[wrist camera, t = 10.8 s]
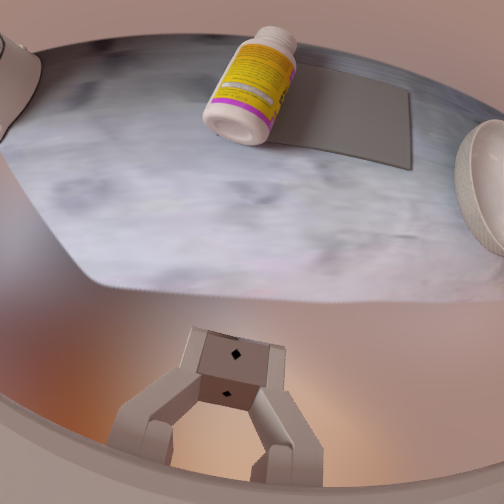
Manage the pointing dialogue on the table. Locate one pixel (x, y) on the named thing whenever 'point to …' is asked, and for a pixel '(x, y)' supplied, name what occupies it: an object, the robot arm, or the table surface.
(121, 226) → the table surface
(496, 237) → the cereal bowl
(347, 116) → the mat
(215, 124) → the supplement bottle
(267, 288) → the table surface
